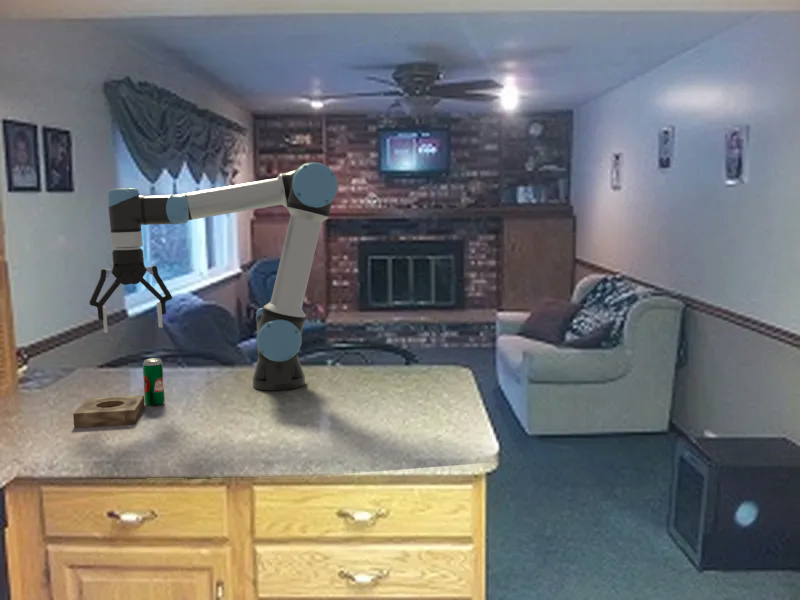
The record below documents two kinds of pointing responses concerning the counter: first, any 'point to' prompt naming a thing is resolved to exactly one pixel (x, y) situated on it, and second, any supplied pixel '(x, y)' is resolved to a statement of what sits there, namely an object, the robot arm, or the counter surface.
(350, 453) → the counter surface
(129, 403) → the board
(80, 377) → the counter surface
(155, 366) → the soda can
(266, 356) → the robot arm
